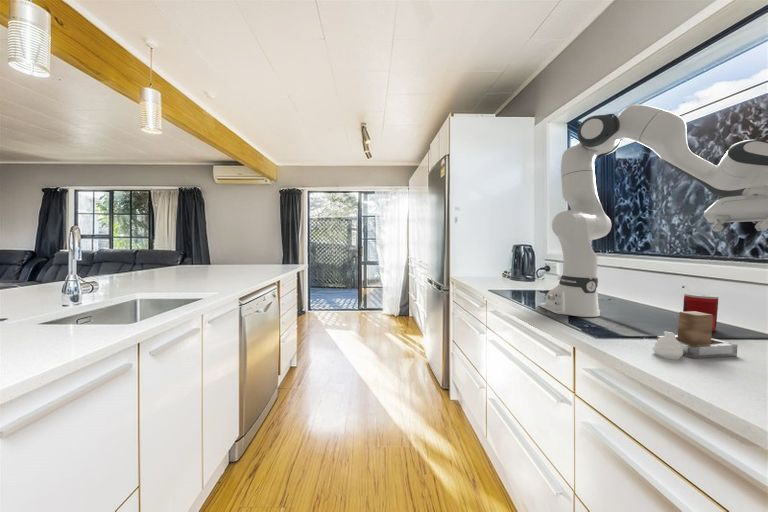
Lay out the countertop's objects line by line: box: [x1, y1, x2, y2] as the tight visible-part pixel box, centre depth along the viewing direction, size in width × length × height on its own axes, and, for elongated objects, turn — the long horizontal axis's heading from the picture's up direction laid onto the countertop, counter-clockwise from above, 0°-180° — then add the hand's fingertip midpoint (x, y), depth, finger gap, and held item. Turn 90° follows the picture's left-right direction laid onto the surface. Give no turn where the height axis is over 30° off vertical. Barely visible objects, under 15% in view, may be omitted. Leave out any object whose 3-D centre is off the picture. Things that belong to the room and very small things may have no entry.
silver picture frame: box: [656, 334, 739, 360], centre depth 84 cm, size 9×13×3 cm
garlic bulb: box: [652, 331, 684, 360], centre depth 80 cm, size 6×6×5 cm
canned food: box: [682, 292, 719, 332], centre depth 106 cm, size 8×8×11 cm
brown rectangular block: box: [677, 311, 713, 345], centre depth 84 cm, size 4×5×9 cm
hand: (736, 229), depth 86 cm, fingers open, 8 cm apart
